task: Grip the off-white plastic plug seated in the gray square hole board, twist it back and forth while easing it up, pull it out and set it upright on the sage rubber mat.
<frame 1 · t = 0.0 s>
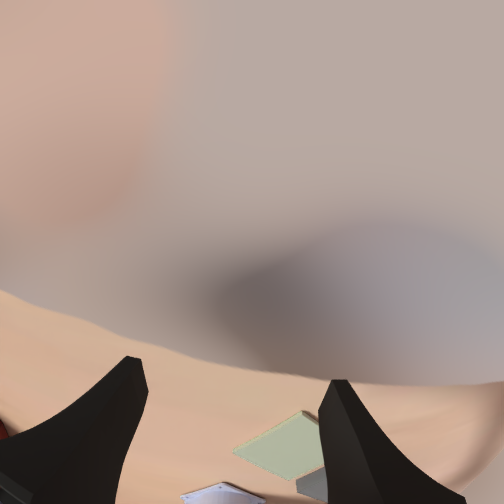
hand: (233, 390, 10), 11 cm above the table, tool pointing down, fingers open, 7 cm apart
gray square hole board: (361, 481, 26), on the table
mat: (294, 449, 24), on the table
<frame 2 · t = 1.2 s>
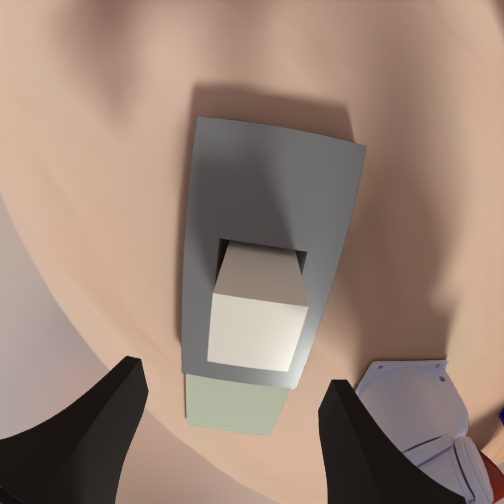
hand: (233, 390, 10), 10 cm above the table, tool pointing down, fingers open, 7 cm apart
gray square hole board: (257, 269, 19), on the table
plug: (257, 268, 19), resting in gray square hole board
mat: (233, 405, 25), on the table
plant pot: (447, 467, 37), on the table
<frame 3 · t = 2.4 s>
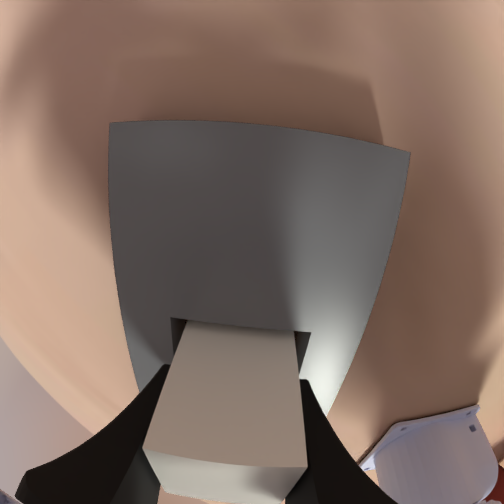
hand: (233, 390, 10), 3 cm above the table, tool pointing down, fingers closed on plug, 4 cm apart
gray square hole board: (239, 342, 12), on the table
plug: (239, 342, 12), resting in gray square hole board, touching gripper
plant pot: (466, 482, 30), on the table
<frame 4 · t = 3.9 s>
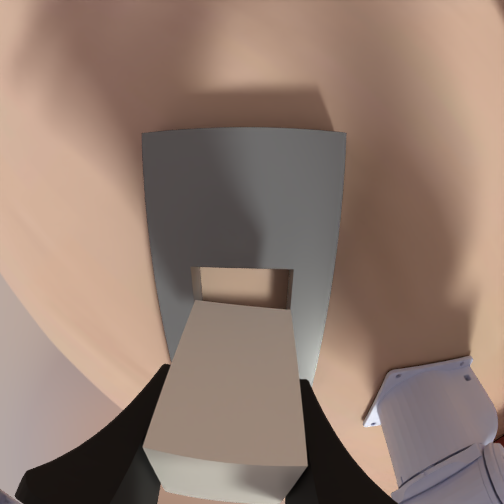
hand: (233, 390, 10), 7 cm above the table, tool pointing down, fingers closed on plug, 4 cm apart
gray square hole board: (244, 291, 16), on the table
plug: (239, 341, 12), point 4 cm above the table, touching gripper
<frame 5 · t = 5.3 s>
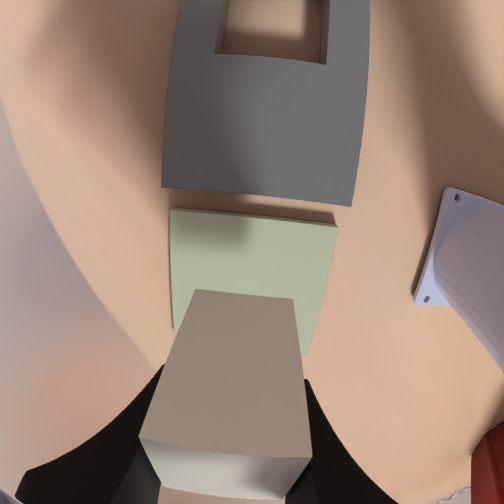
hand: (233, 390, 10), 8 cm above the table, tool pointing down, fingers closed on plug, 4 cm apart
gray square hole board: (273, 27, 11), on the table
plug: (240, 331, 12), point 5 cm above the table, touching gripper
mat: (247, 287, 17), on the table
plant pot: (500, 430, 29), on the table
when the fingers open (5 cm above the table, at t = 6.0 s): plug drops 2 cm, resting on mat.
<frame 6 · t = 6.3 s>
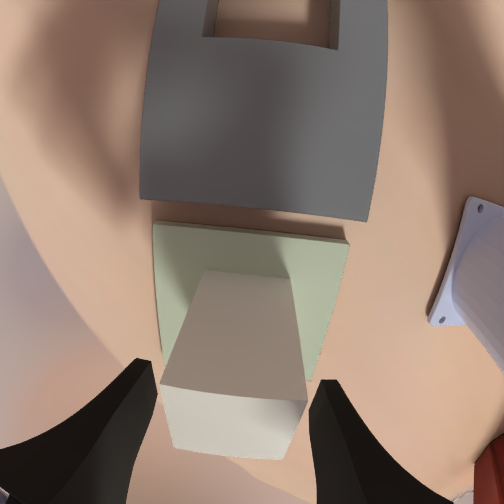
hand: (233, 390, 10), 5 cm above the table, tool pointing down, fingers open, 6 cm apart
gray square hole board: (274, 8, 9), on the table
plug: (243, 310, 14), point 1 cm above the table, touching mat
mat: (243, 311, 15), on the table
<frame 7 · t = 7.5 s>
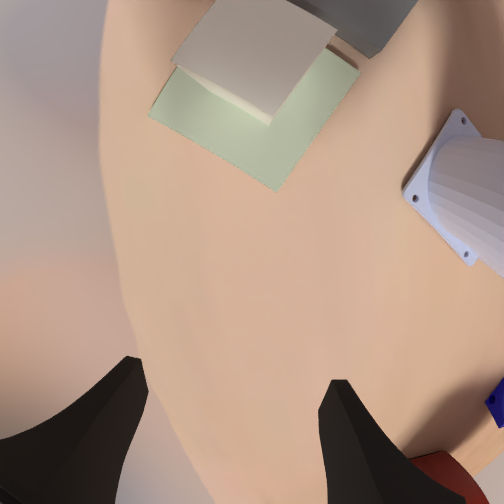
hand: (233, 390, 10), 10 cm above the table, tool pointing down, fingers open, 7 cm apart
plug: (258, 79, 14), point 1 cm above the table, touching mat
mat: (253, 87, 14), on the table
plant pot: (402, 470, 34), on the table
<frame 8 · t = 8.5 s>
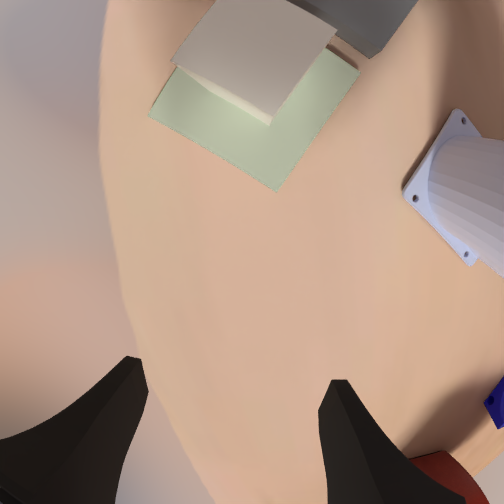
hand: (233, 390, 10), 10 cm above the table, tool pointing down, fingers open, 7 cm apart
plug: (258, 79, 14), point 1 cm above the table, touching mat
mat: (253, 87, 14), on the table
plant pot: (402, 470, 34), on the table
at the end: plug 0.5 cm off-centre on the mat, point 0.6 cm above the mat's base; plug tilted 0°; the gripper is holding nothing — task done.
